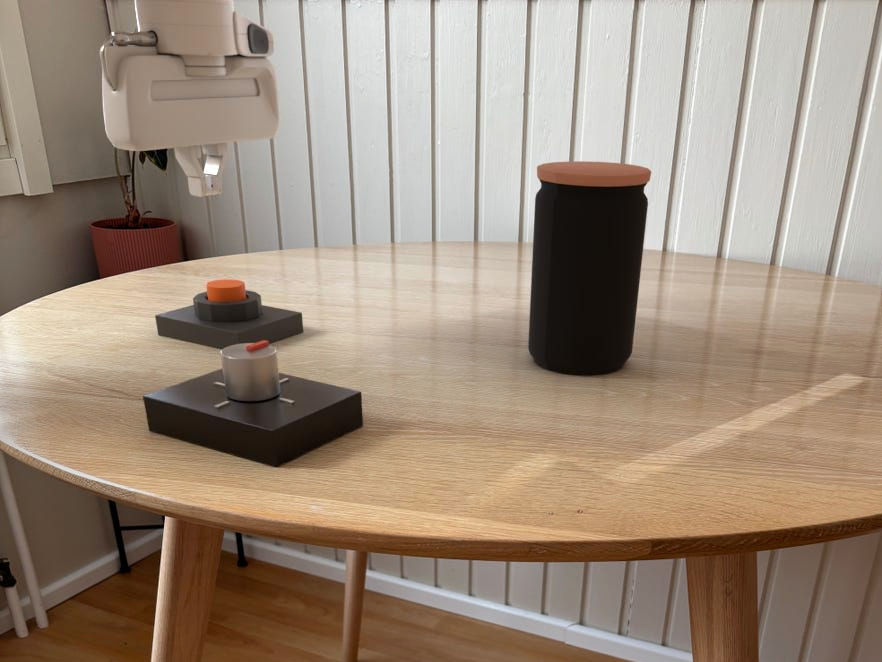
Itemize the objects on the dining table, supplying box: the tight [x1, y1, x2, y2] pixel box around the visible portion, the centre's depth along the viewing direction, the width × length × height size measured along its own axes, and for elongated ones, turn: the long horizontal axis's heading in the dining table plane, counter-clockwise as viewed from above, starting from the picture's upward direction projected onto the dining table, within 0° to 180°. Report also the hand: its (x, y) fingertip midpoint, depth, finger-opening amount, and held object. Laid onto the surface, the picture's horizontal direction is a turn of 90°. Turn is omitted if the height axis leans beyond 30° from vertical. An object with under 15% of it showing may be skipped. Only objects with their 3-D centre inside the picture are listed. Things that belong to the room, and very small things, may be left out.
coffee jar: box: [527, 160, 652, 376], centre depth 92 cm, size 11×11×18 cm
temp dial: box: [220, 340, 280, 401], centre depth 76 cm, size 4×4×4 cm
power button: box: [205, 278, 246, 302], centre depth 100 cm, size 4×4×2 cm
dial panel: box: [142, 367, 364, 468], centre depth 78 cm, size 14×11×3 cm
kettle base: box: [154, 289, 304, 351], centre depth 102 cm, size 12×10×4 cm
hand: (206, 194), depth 95 cm, fingers closed
